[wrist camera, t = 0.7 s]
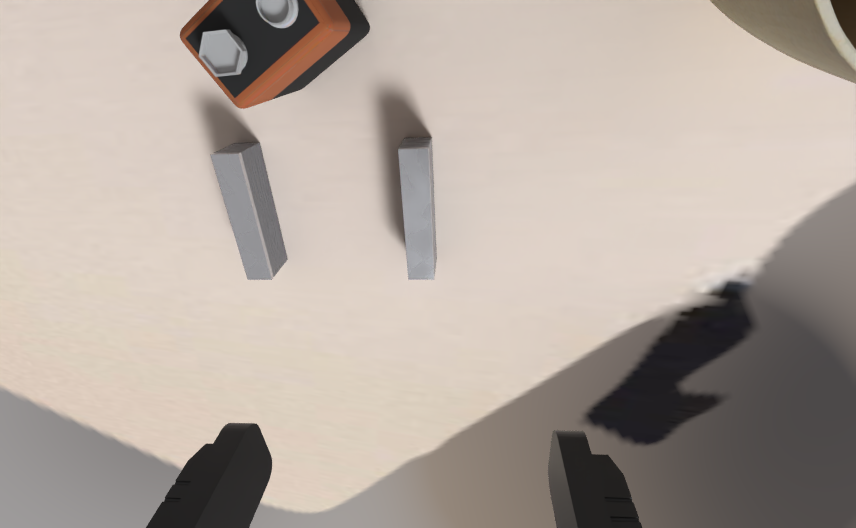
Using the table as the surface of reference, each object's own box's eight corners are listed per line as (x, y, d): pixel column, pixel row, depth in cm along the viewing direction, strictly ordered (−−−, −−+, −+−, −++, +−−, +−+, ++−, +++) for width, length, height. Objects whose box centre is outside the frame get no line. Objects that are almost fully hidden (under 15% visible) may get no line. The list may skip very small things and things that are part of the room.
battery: (255, 34, 28) (159, 34, 19) (331, -38, 25) (262, -75, 17) (299, 92, 29) (229, 117, 20) (374, 29, 27) (332, 27, 18)
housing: (234, 143, 31) (210, 154, 28) (431, 137, 30) (428, 148, 27) (265, 259, 36) (247, 279, 33) (436, 258, 35) (434, 279, 32)
